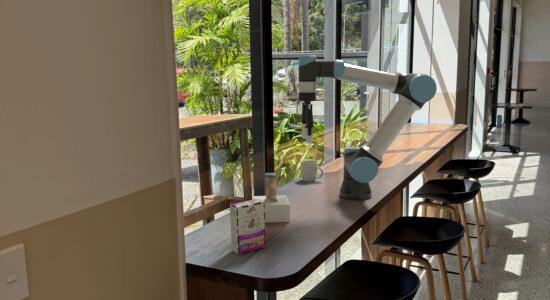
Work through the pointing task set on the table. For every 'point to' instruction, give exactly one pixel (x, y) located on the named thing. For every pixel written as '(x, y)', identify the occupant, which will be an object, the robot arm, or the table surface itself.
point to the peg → (270, 187)
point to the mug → (310, 171)
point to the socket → (276, 209)
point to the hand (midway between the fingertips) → (306, 140)
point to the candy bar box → (247, 226)
